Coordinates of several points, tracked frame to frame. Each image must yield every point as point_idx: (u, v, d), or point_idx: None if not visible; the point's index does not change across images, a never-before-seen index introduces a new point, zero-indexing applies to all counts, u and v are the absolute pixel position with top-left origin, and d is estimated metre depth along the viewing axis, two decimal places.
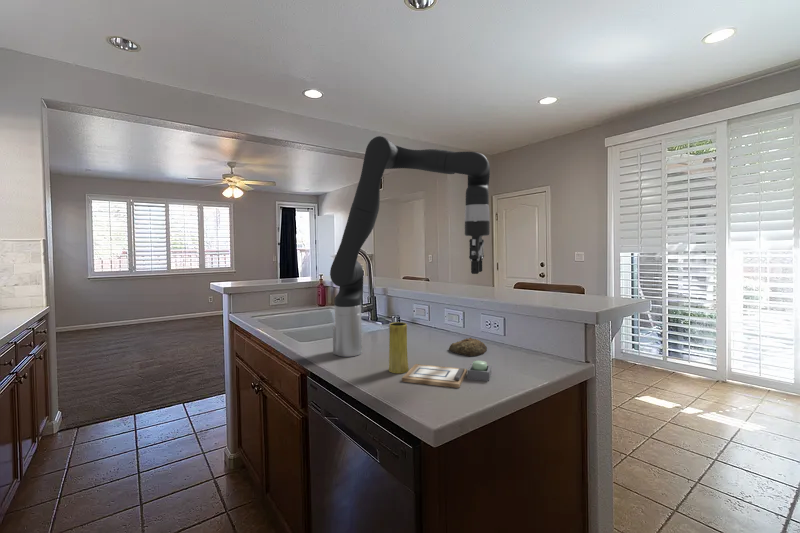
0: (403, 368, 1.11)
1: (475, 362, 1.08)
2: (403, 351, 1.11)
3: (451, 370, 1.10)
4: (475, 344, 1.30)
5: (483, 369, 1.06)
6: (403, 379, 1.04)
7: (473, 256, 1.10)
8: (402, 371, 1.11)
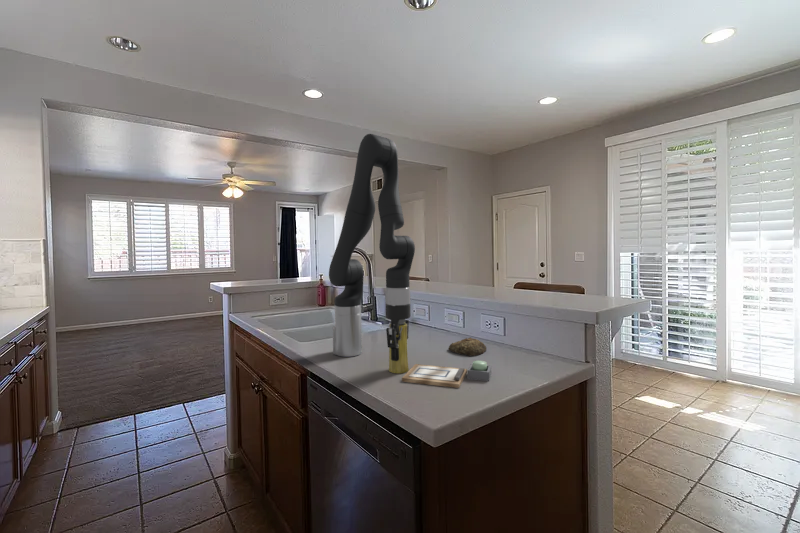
0: (403, 368, 1.11)
1: (475, 362, 1.08)
2: (403, 351, 1.11)
3: (451, 370, 1.10)
4: (474, 344, 1.30)
5: (483, 369, 1.06)
6: (403, 379, 1.04)
7: (391, 345, 1.08)
8: (402, 371, 1.11)
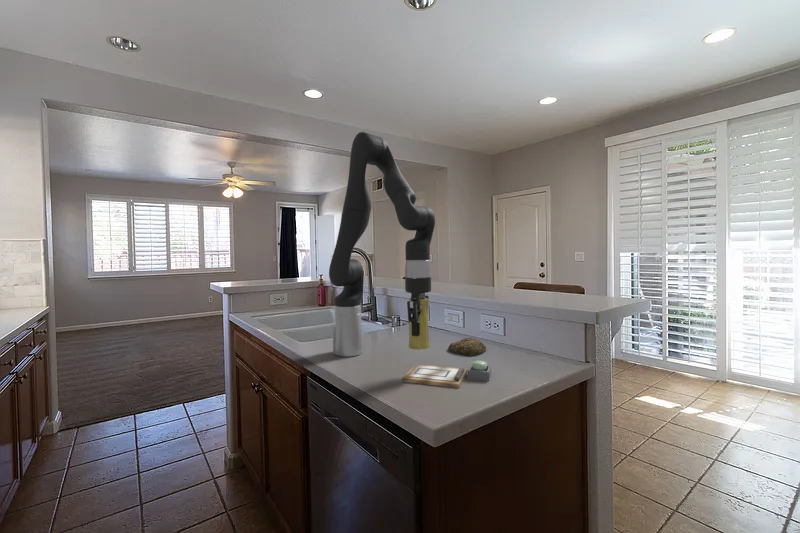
0: (424, 344, 1.07)
1: (475, 362, 1.08)
2: (424, 326, 1.07)
3: (451, 370, 1.10)
4: (474, 344, 1.30)
5: (483, 369, 1.06)
6: (403, 379, 1.04)
7: (412, 319, 1.03)
8: (423, 347, 1.06)
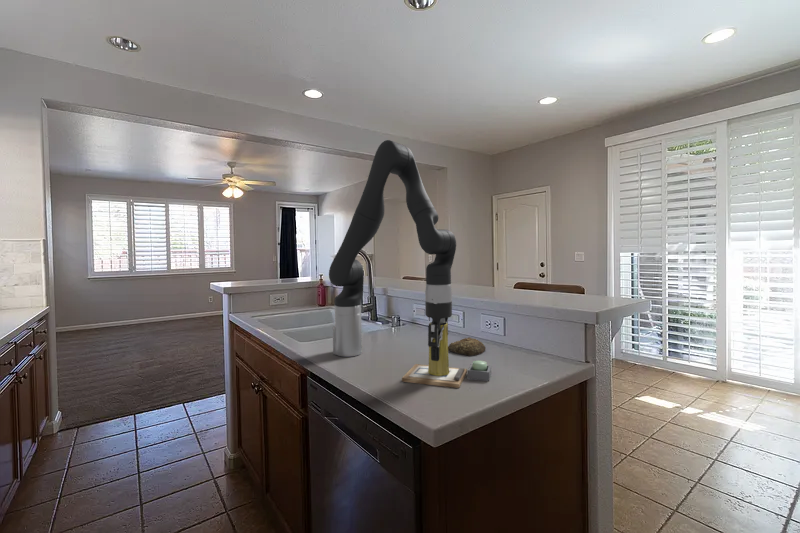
0: (444, 370, 1.05)
1: (475, 362, 1.08)
2: (444, 352, 1.05)
3: (451, 370, 1.10)
4: (473, 344, 1.31)
5: (483, 369, 1.06)
6: (403, 379, 1.04)
7: (432, 344, 1.00)
8: (443, 373, 1.05)
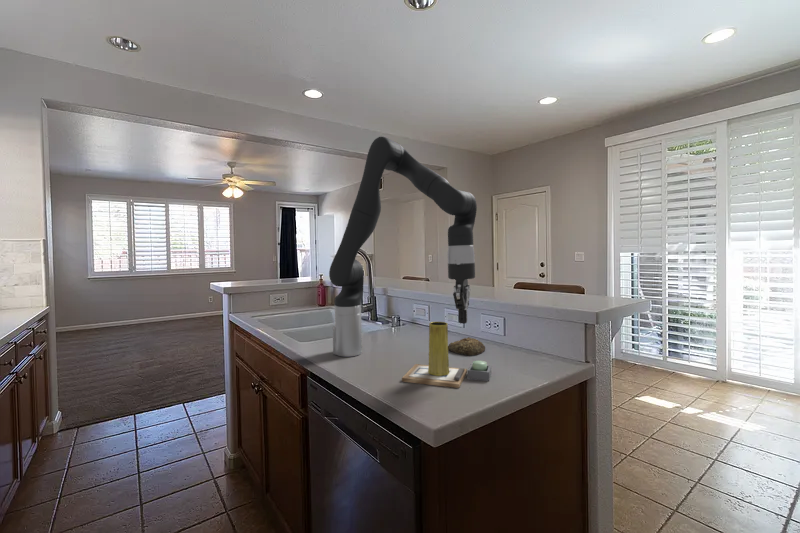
0: (444, 370, 1.05)
1: (475, 362, 1.08)
2: (444, 352, 1.05)
3: (451, 370, 1.10)
4: (473, 344, 1.31)
5: (483, 369, 1.06)
6: (403, 379, 1.04)
7: (460, 306, 1.03)
8: (443, 373, 1.05)
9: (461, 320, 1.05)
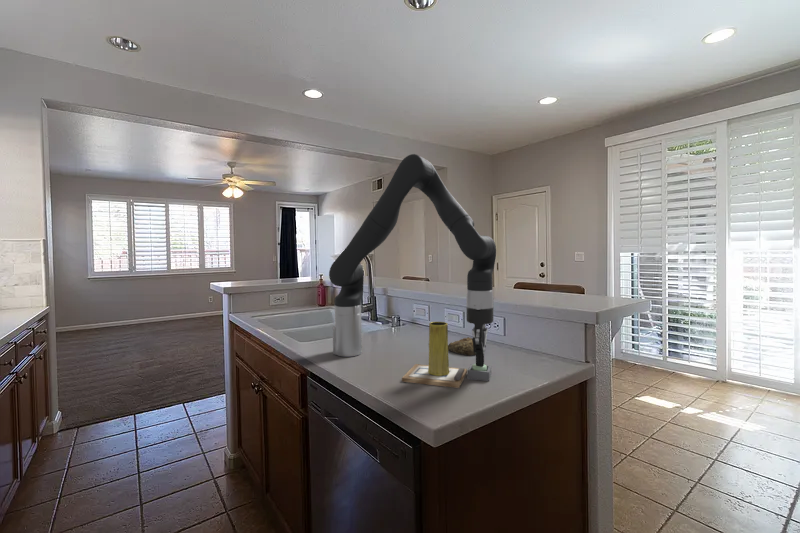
0: (444, 370, 1.05)
1: (475, 365, 1.08)
2: (444, 352, 1.05)
3: (451, 370, 1.10)
4: None
5: None
6: (403, 379, 1.04)
7: (478, 350, 1.04)
8: (443, 373, 1.05)
9: (478, 363, 1.06)
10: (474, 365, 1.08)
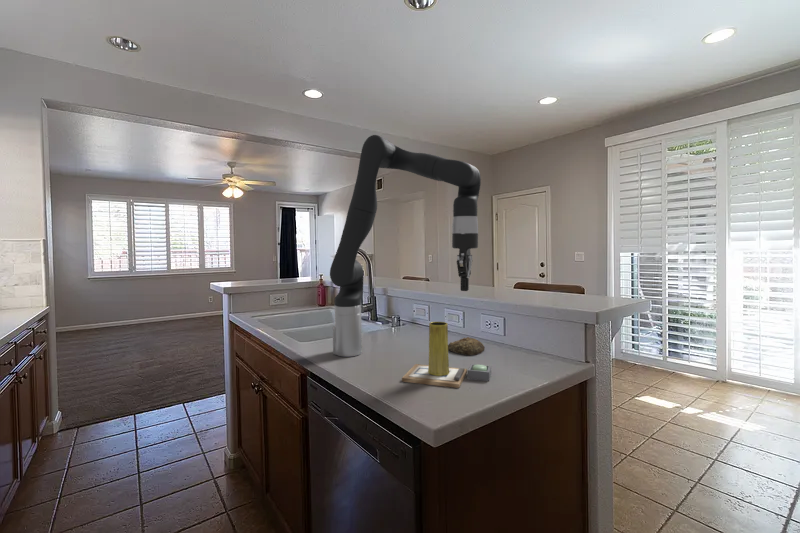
0: (444, 370, 1.05)
1: (475, 366, 1.08)
2: (444, 352, 1.05)
3: (451, 370, 1.10)
4: (473, 344, 1.31)
5: None
6: (403, 379, 1.04)
7: (462, 274, 1.08)
8: (443, 373, 1.05)
9: (463, 288, 1.11)
10: (474, 366, 1.08)
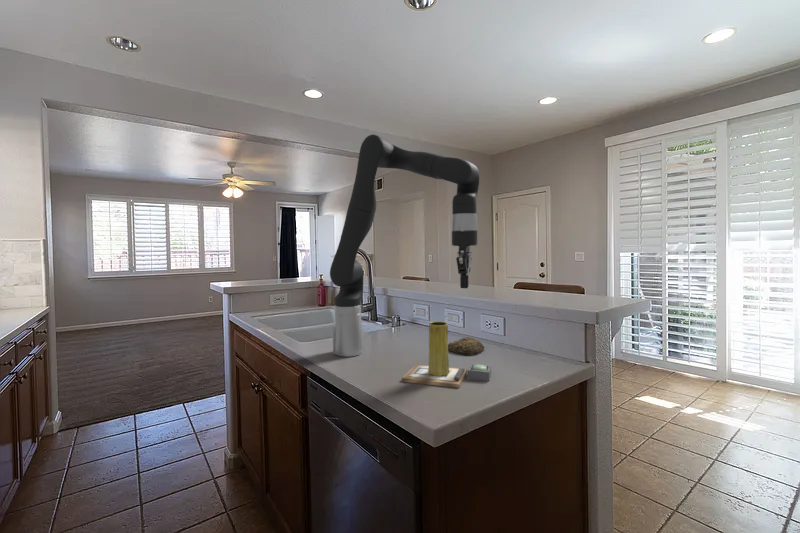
0: (444, 370, 1.05)
1: (475, 366, 1.08)
2: (444, 352, 1.05)
3: (451, 370, 1.10)
4: (472, 344, 1.31)
5: None
6: (403, 379, 1.04)
7: (462, 271, 1.09)
8: (443, 373, 1.05)
9: (463, 285, 1.11)
10: (474, 366, 1.08)
